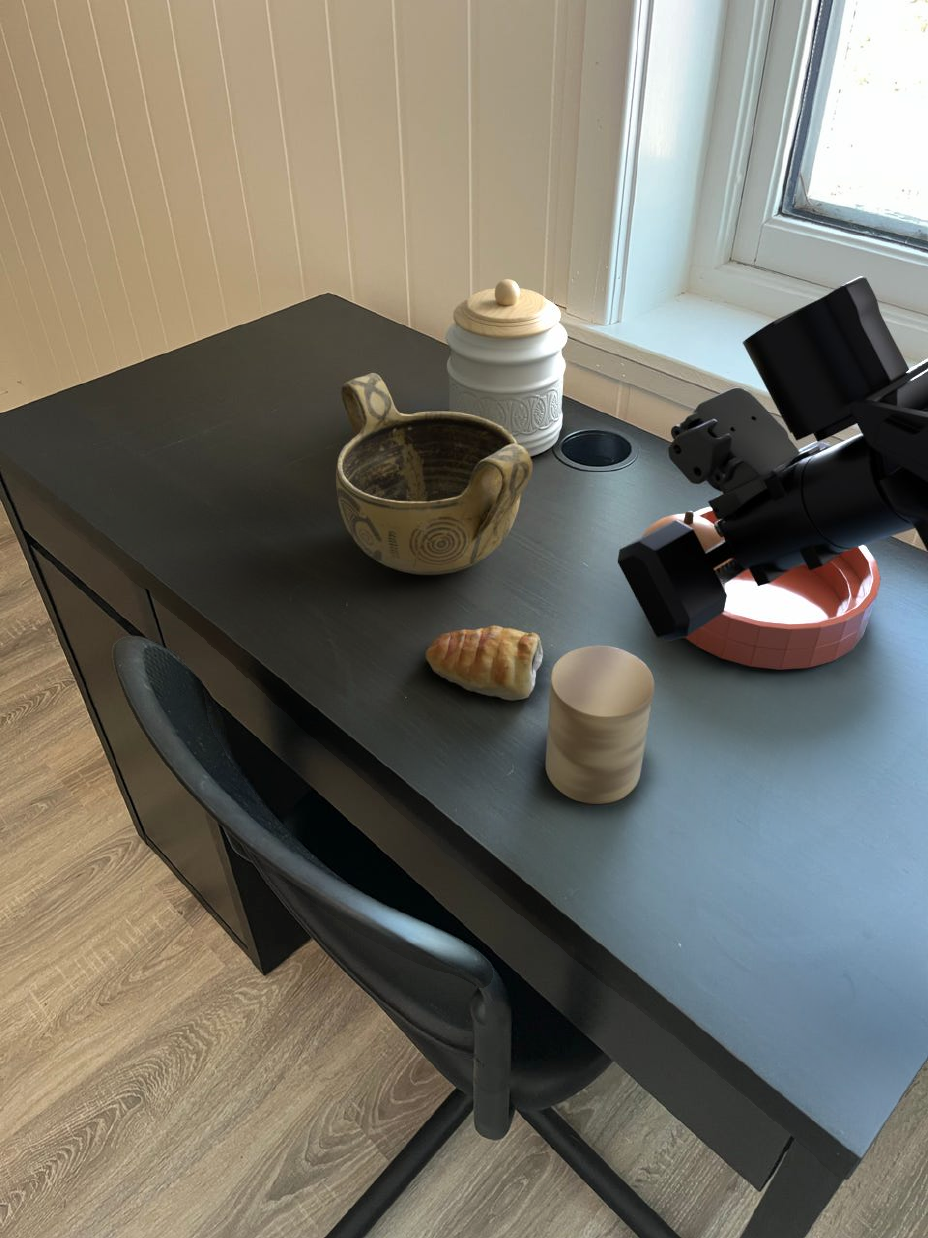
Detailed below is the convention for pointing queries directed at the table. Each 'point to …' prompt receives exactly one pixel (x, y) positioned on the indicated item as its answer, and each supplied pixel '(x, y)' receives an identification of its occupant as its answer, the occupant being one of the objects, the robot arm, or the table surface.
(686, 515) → the peach
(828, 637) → the bowl
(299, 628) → the table surface
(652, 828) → the table surface
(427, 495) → the ceramic bowl
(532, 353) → the jar
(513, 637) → the pastry
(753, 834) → the table surface
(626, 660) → the wooden cylinder
